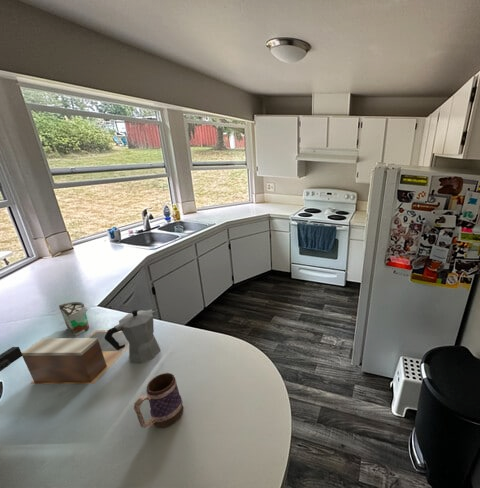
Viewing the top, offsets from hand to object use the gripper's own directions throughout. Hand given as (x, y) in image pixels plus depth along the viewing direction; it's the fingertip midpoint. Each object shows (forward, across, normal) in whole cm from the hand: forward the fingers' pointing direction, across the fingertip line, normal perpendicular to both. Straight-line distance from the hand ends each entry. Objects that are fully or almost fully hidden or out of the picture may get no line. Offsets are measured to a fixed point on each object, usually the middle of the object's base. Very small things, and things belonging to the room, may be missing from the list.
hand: (17, 351), depth 62 cm
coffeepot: (+17, +16, -18) cm, 30 cm away
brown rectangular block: (+9, 0, -17) cm, 20 cm away
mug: (-5, +35, -18) cm, 40 cm away
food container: (+32, -16, -18) cm, 40 cm away
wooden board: (+18, 0, -18) cm, 25 cm away
